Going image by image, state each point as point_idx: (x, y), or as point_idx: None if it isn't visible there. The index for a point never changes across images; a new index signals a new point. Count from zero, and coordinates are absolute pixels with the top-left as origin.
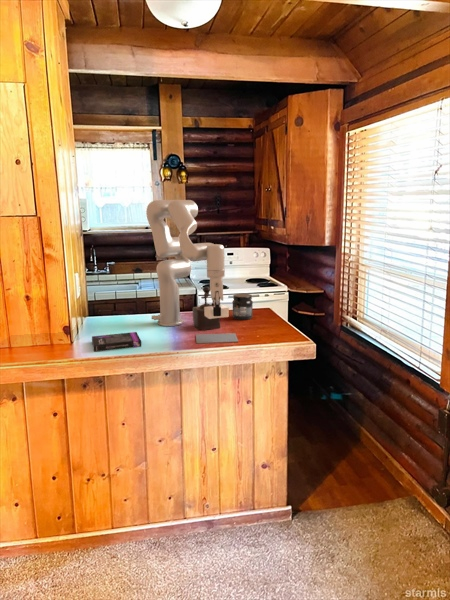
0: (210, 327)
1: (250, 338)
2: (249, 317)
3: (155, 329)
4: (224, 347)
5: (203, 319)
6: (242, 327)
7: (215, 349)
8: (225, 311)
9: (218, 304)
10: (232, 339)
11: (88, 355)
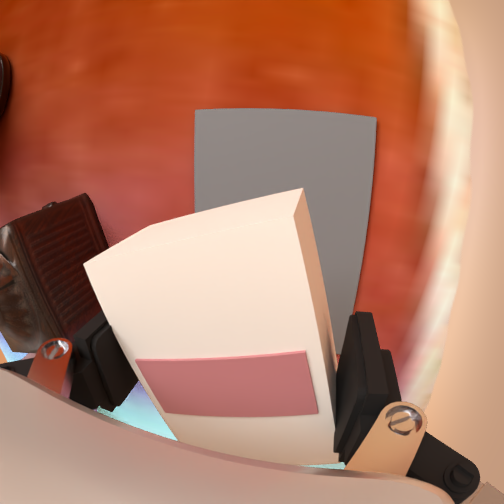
0: (100, 249)
1: (304, 30)
2: (4, 59)
3: (131, 424)
4: (445, 224)
5: (86, 309)
6: (89, 72)
7: (457, 276)
8: (311, 257)
9: (463, 468)
10: (331, 146)
11: None
